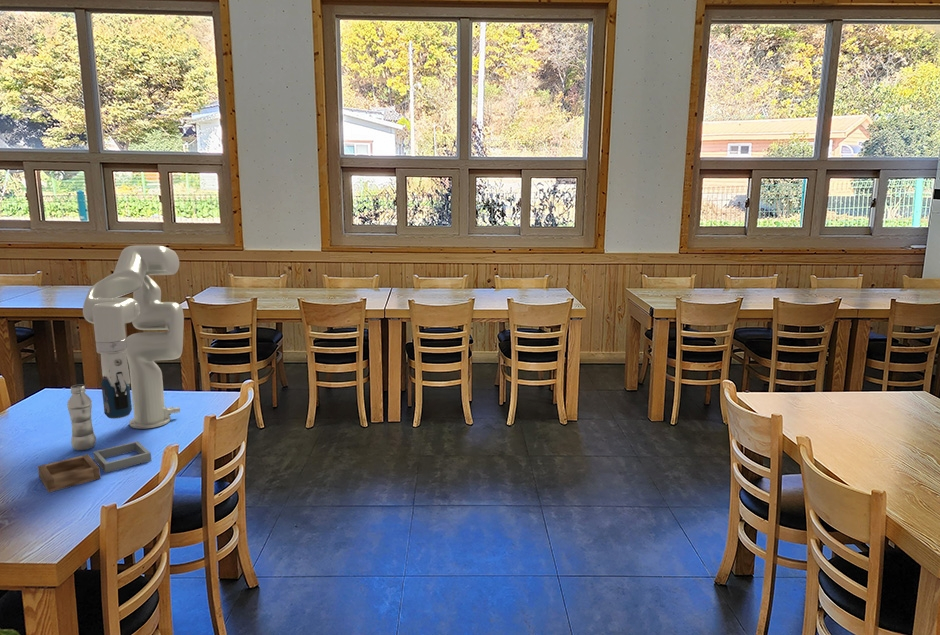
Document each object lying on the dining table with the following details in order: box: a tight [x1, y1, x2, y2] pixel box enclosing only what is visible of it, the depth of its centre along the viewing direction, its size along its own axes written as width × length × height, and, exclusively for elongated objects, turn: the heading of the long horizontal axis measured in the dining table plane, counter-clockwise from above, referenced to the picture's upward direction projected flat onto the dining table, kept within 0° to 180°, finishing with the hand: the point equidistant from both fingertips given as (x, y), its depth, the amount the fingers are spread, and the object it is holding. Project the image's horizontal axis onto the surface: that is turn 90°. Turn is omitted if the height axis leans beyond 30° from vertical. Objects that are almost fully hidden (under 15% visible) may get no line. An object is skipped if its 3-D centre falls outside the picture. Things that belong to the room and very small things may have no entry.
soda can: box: [100, 376, 133, 420], centre depth 176 cm, size 7×7×12 cm
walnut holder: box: [37, 454, 101, 493], centre depth 167 cm, size 12×12×3 cm
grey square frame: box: [93, 440, 152, 474], centre depth 179 cm, size 12×12×2 cm
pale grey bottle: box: [66, 384, 97, 451], centre depth 185 cm, size 6×7×20 cm
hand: (117, 404), depth 176 cm, fingers closed on soda can, 6 cm apart
